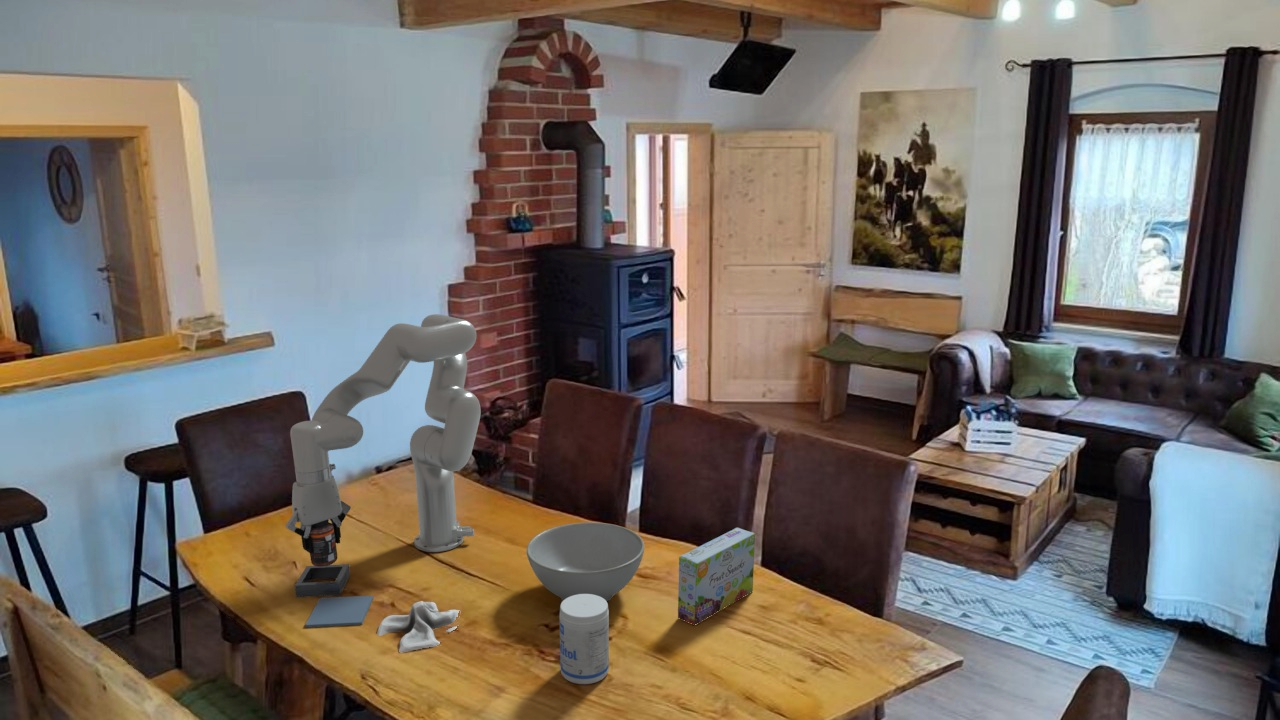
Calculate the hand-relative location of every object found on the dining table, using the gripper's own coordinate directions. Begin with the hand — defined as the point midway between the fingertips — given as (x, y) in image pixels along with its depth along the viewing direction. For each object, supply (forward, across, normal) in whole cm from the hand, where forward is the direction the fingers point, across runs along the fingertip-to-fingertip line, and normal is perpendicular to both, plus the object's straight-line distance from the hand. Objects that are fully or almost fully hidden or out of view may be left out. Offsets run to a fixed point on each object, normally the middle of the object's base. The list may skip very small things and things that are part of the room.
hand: (322, 545), depth 213 cm
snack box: (+12, -57, +72) cm, 93 cm away
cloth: (+11, -7, +33) cm, 35 cm away
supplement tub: (+11, -19, +71) cm, 75 cm away
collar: (+10, +1, 0) cm, 10 cm away
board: (+10, +4, +14) cm, 18 cm away
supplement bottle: (+4, 0, 0) cm, 4 cm away
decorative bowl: (+11, -40, +48) cm, 63 cm away
